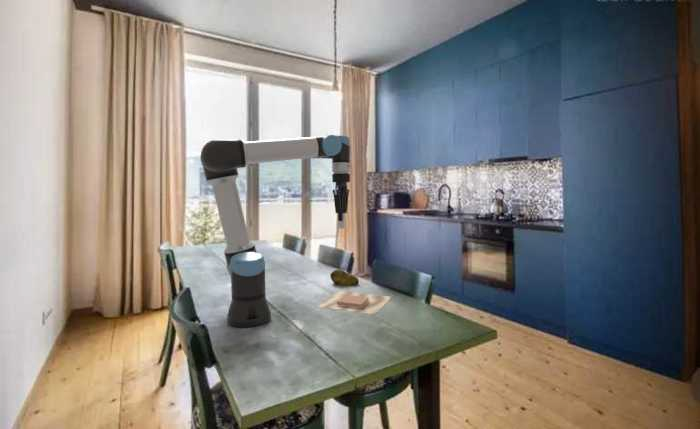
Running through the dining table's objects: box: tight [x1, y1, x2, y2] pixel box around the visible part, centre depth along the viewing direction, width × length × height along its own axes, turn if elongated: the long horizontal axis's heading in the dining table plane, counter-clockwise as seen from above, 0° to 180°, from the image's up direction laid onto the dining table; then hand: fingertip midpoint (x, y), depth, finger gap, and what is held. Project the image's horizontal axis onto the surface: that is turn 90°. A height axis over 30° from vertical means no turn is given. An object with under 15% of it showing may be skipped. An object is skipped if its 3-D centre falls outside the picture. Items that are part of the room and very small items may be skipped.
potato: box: [329, 269, 360, 287], centre depth 169 cm, size 8×13×8 cm, turn 63°
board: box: [315, 290, 392, 315], centre depth 143 cm, size 24×22×2 cm
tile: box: [337, 295, 369, 308], centre depth 141 cm, size 10×2×9 cm
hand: (341, 228), depth 154 cm, fingers closed
